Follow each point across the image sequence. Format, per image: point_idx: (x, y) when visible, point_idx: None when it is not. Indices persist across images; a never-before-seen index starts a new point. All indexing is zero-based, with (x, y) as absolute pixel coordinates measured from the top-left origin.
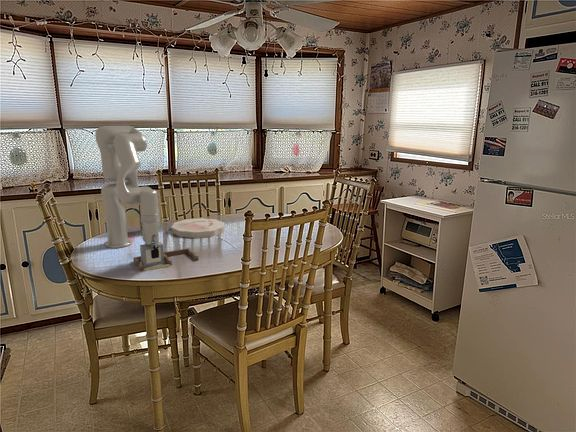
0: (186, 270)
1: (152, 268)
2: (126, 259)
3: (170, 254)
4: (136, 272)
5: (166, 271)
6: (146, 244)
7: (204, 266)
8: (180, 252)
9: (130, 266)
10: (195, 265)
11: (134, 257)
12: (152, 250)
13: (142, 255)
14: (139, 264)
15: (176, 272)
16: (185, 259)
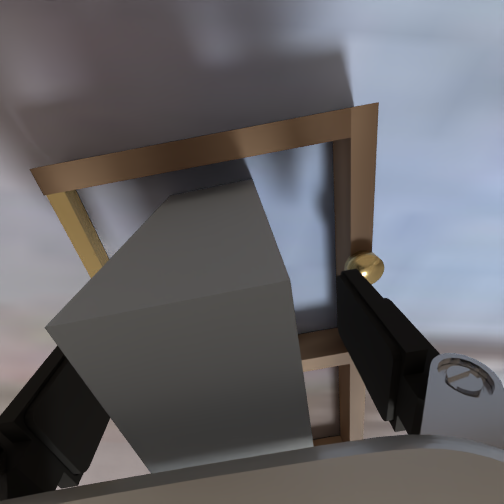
0: None
1: (89, 262)
2: (467, 20)
3: (342, 379)
4: (16, 115)
5: (40, 338)
6: (280, 393)
7: (110, 476)
8: (343, 422)
9: (215, 57)
10: (131, 452)
11: (366, 115)
12: (13, 424)
13: (160, 229)
14: (100, 161)
15: (20, 383)
16: None
